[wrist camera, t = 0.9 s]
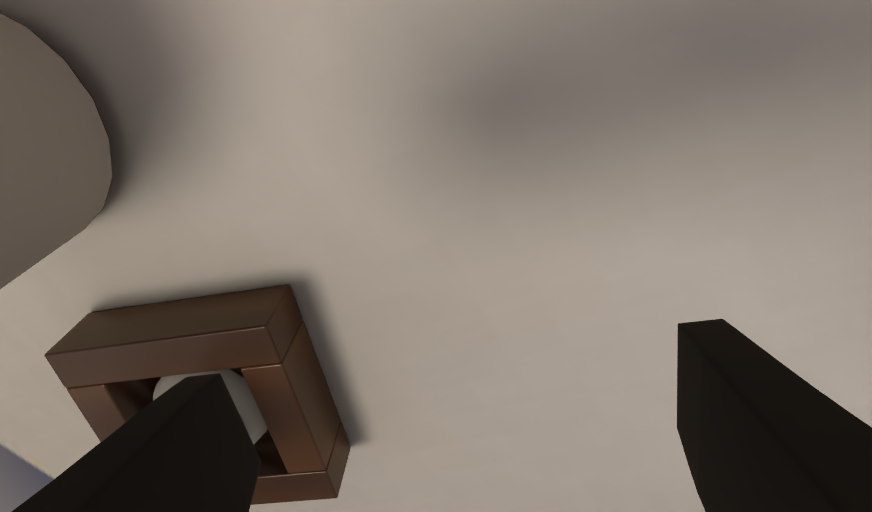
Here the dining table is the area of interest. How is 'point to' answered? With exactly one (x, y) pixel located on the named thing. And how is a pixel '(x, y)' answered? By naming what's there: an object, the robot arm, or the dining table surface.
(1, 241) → the can
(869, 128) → the dining table surface
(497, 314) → the dining table surface
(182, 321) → the holder
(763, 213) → the dining table surface
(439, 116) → the dining table surface
